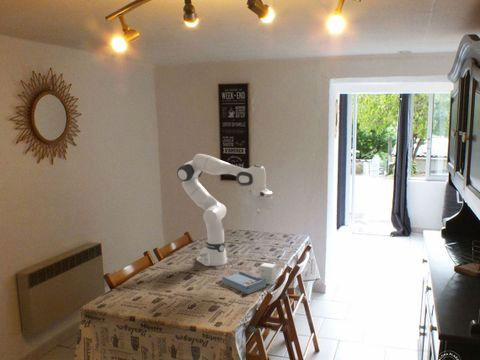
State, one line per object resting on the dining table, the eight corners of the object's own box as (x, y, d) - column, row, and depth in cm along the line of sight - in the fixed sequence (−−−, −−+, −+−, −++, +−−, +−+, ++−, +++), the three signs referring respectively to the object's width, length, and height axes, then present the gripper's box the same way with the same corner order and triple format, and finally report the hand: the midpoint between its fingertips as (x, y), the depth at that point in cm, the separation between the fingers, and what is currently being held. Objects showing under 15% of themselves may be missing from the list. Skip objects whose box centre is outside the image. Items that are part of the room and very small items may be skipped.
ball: (246, 288, 240) (244, 282, 240) (250, 286, 242) (248, 281, 242) (249, 287, 237) (247, 281, 238) (253, 285, 239) (252, 280, 240)
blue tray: (222, 282, 247) (222, 275, 246) (240, 276, 256) (239, 269, 255) (248, 293, 231) (248, 286, 230) (266, 286, 240) (265, 279, 239)
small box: (276, 281, 247) (276, 264, 245) (272, 285, 242) (272, 267, 241) (264, 279, 251) (264, 262, 250) (260, 282, 246) (260, 265, 245)
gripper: (243, 190, 261) (243, 212, 263) (267, 194, 246) (267, 217, 248) (250, 189, 265) (251, 210, 267) (274, 192, 250) (274, 215, 252)
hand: (259, 213), depth 258 cm, fingers closed
